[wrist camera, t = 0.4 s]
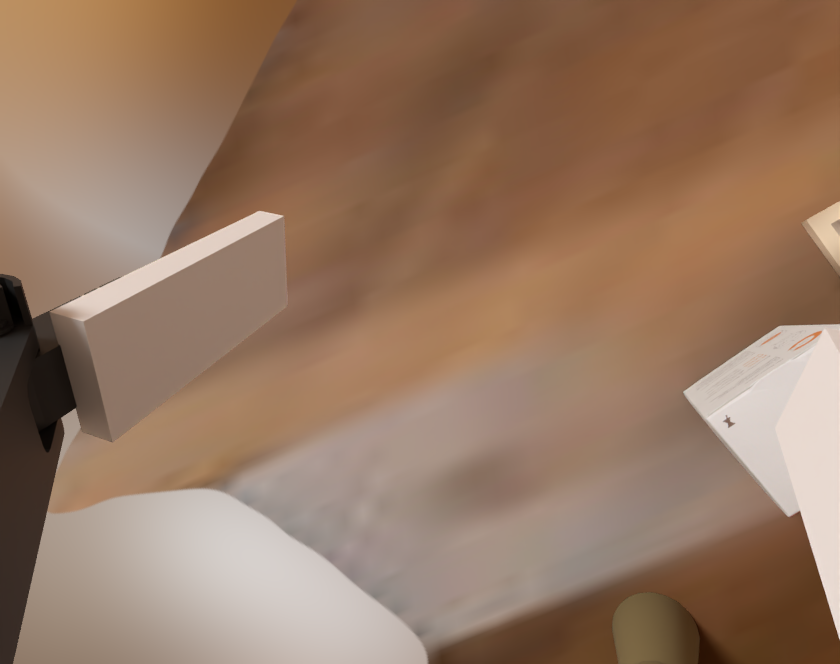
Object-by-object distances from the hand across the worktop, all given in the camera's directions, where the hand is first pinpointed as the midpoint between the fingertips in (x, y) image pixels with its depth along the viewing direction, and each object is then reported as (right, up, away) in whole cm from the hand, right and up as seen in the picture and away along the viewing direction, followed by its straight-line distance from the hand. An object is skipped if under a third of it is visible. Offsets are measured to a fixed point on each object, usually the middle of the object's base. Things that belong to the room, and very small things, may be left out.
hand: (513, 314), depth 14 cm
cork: (+15, -23, +28) cm, 39 cm away
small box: (+22, -5, +26) cm, 34 cm away
